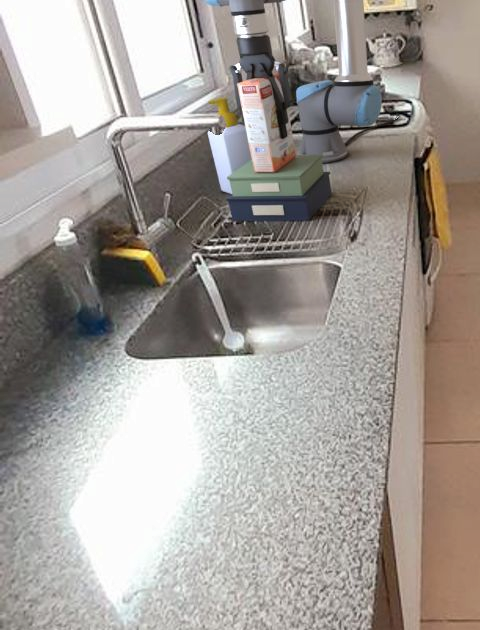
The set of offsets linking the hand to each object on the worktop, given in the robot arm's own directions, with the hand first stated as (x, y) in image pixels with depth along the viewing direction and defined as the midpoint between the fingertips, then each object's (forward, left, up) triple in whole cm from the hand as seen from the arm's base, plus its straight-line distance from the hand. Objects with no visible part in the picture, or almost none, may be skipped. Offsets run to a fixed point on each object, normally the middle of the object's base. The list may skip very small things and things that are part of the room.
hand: (271, 137), depth 149 cm
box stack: (0, 0, -18) cm, 18 cm away
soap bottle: (-14, -18, -18) cm, 29 cm away
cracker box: (0, 0, -7) cm, 7 cm away
